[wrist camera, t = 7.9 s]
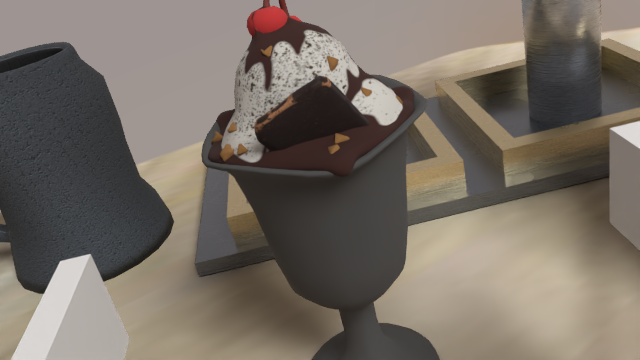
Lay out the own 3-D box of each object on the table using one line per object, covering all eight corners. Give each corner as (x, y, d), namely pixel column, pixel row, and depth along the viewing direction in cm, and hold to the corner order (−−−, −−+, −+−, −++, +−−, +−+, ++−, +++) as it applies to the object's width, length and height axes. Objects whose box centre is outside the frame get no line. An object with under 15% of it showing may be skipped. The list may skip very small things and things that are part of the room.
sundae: (338, 298, 27) (246, -66, 20) (490, 332, 23) (440, -102, 16) (245, 413, 22) (85, -12, 15) (418, 480, 18) (305, -45, 12)
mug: (173, 189, 40) (112, 21, 35) (173, 261, 32) (93, 56, 27) (-10, 242, 39) (-101, 76, 34) (-59, 331, 31) (-187, 130, 26)
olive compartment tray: (199, 276, 30) (86, -30, 24) (213, 162, 43) (140, -59, 36) (787, 132, 31) (834, -212, 24) (629, 60, 43) (632, -179, 37)
